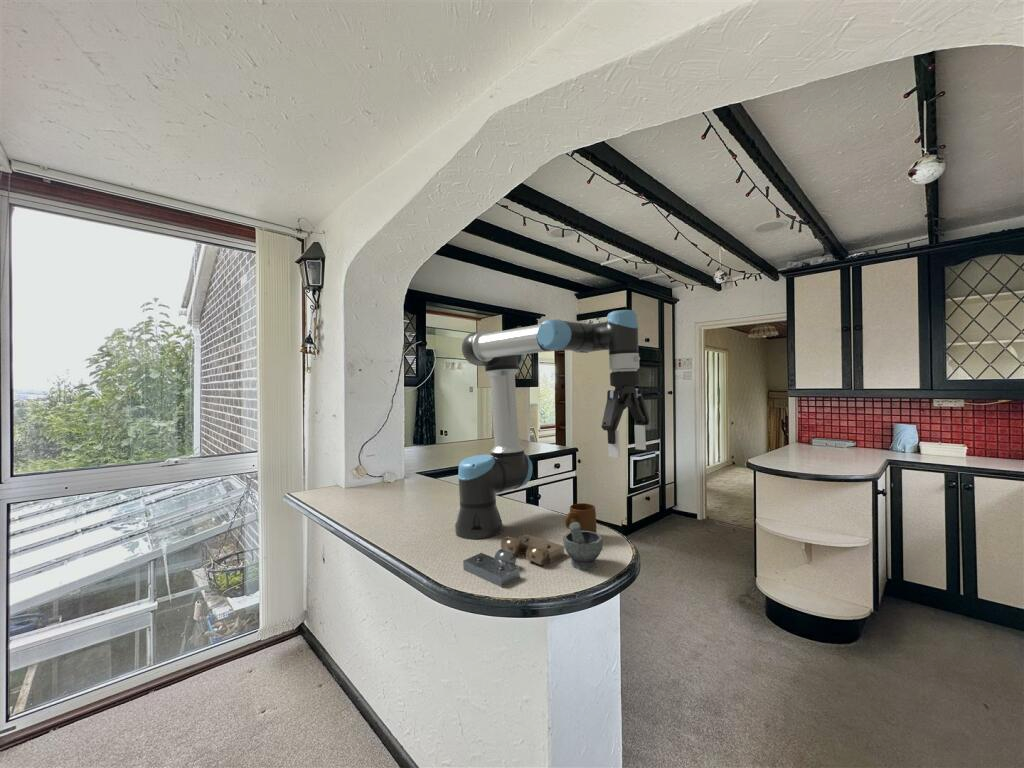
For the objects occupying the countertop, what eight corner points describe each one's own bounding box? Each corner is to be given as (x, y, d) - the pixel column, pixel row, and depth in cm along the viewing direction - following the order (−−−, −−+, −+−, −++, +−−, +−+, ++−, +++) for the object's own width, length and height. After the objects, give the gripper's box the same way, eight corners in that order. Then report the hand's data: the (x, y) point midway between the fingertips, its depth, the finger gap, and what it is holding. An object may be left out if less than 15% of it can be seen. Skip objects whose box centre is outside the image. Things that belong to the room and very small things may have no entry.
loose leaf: (463, 570, 103) (462, 554, 103) (493, 557, 110) (492, 542, 110) (501, 588, 93) (500, 570, 93) (531, 572, 100) (530, 555, 100)
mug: (578, 550, 112) (577, 516, 112) (556, 544, 117) (555, 511, 117) (601, 537, 121) (600, 505, 121) (580, 532, 126) (578, 501, 126)
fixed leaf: (501, 553, 112) (500, 538, 112) (526, 542, 119) (525, 529, 119) (539, 567, 102) (538, 551, 102) (564, 555, 109) (563, 540, 109)
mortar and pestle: (573, 554, 110) (571, 509, 110) (607, 560, 105) (605, 513, 105) (556, 571, 100) (554, 522, 100) (594, 578, 95) (591, 527, 95)
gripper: (611, 369, 94) (615, 462, 94) (660, 370, 112) (663, 447, 112) (584, 371, 99) (588, 458, 99) (634, 371, 117) (637, 445, 117)
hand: (628, 453), depth 106 cm, fingers open, 13 cm apart
